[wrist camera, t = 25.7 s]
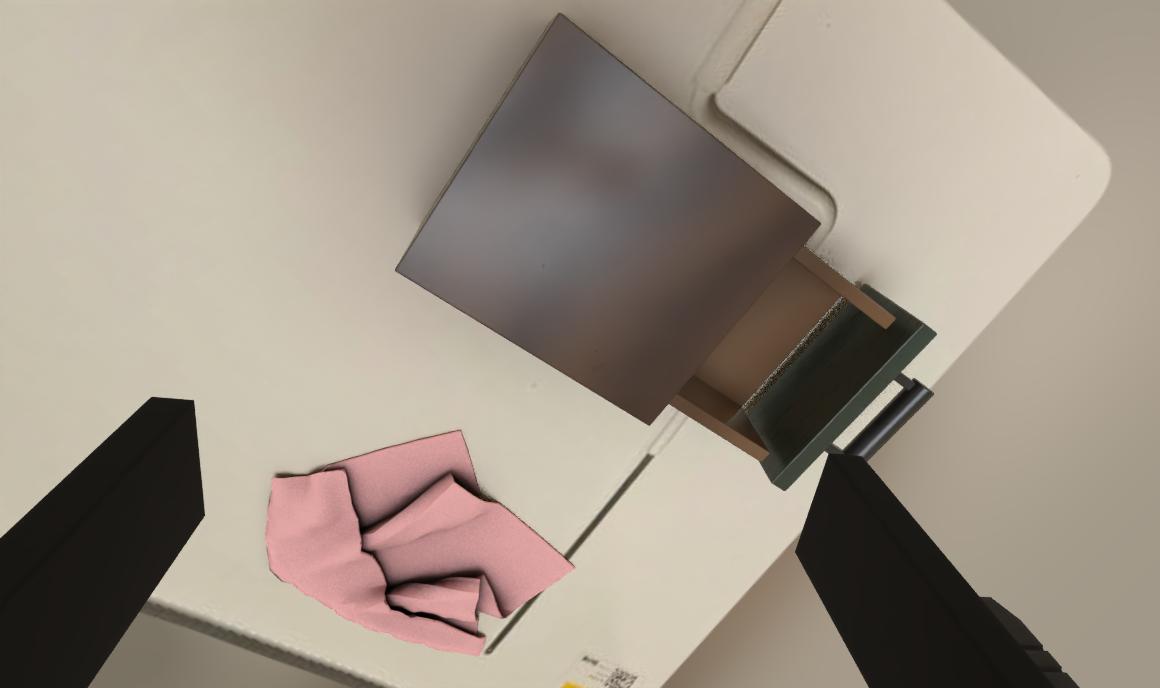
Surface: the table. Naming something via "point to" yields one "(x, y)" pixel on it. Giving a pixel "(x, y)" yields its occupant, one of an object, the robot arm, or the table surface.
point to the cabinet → (604, 227)
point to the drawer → (809, 371)
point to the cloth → (407, 544)
